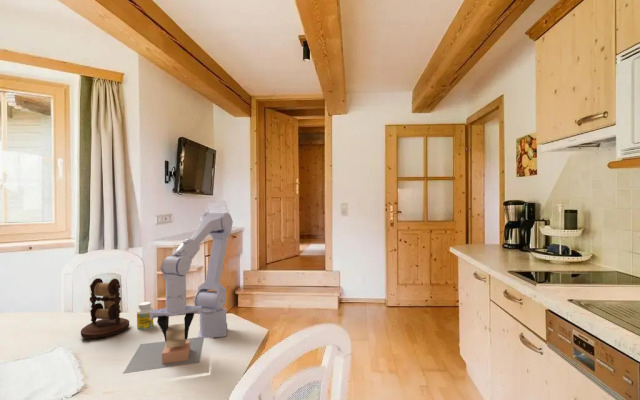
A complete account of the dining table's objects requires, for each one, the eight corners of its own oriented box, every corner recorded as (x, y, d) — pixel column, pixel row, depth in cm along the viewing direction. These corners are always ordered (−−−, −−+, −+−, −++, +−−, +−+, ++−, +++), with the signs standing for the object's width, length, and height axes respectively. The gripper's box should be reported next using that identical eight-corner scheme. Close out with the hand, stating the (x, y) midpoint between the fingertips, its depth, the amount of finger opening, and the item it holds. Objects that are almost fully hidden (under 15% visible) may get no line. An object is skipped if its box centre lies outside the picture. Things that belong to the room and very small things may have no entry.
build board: (203, 338, 112) (203, 328, 111) (199, 364, 94) (199, 352, 94) (140, 345, 106) (140, 335, 106) (122, 375, 89) (122, 362, 89)
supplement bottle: (152, 324, 124) (152, 300, 124) (154, 329, 119) (153, 304, 119) (136, 327, 121) (136, 302, 121) (137, 332, 116) (137, 306, 116)
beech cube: (186, 338, 101) (186, 323, 101) (184, 345, 96) (184, 329, 96) (169, 340, 100) (169, 325, 100) (166, 348, 95) (166, 331, 95)
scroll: (138, 325, 123) (137, 274, 123) (109, 343, 108) (108, 284, 108) (103, 324, 125) (102, 273, 124) (69, 341, 110) (68, 283, 110)
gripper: (146, 301, 92) (147, 347, 92) (199, 296, 96) (200, 341, 96) (152, 294, 99) (152, 337, 99) (201, 290, 103) (202, 331, 103)
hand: (176, 338), depth 98 cm, fingers closed on beech cube, 5 cm apart
